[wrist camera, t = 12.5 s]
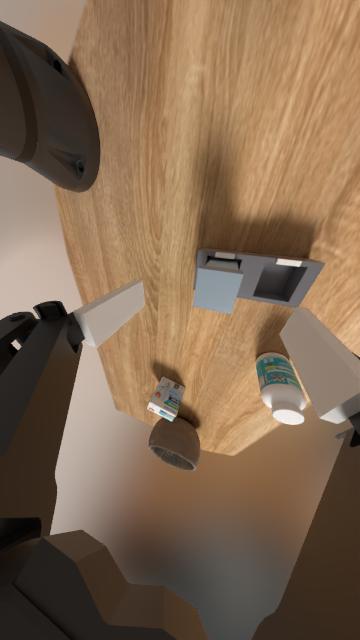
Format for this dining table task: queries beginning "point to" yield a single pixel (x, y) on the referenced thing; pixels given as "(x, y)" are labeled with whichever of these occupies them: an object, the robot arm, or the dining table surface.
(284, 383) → the pill bottle
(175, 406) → the light bulb box
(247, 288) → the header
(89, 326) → the robot arm
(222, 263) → the plug
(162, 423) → the bowl
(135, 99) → the dining table surface
